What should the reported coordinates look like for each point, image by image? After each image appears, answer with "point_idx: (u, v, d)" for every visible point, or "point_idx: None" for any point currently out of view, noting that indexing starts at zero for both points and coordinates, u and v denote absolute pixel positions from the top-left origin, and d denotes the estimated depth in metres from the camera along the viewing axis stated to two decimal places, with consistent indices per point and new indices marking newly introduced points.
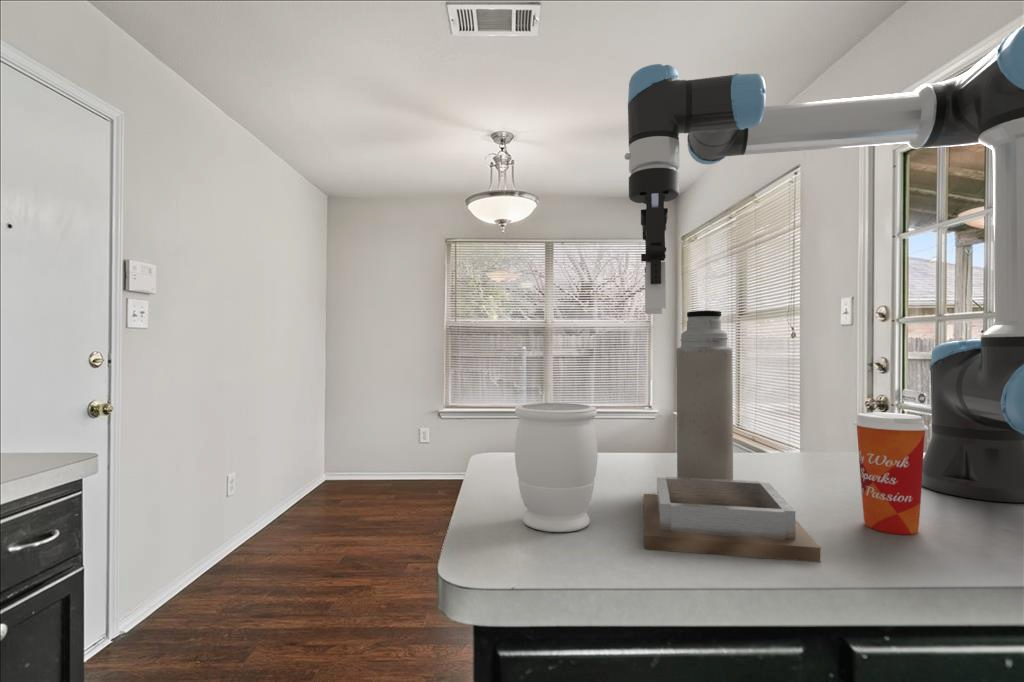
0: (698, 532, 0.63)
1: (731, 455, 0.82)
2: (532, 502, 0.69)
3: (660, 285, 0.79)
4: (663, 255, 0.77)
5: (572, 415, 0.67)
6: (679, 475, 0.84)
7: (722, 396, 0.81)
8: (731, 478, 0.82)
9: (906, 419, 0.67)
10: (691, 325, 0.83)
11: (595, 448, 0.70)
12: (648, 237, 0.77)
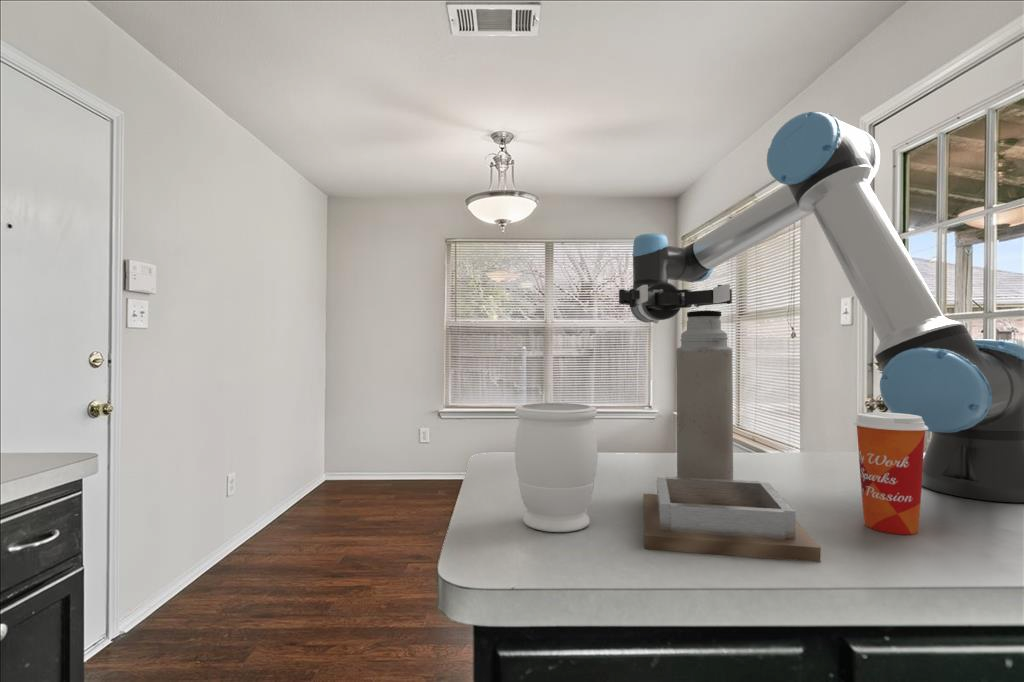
0: (698, 532, 0.63)
1: (731, 455, 0.82)
2: (532, 502, 0.69)
3: (639, 290, 0.98)
4: None
5: (572, 415, 0.67)
6: (679, 475, 0.84)
7: (723, 396, 0.81)
8: (731, 478, 0.82)
9: (906, 419, 0.67)
10: (691, 325, 0.83)
11: (595, 448, 0.70)
12: None
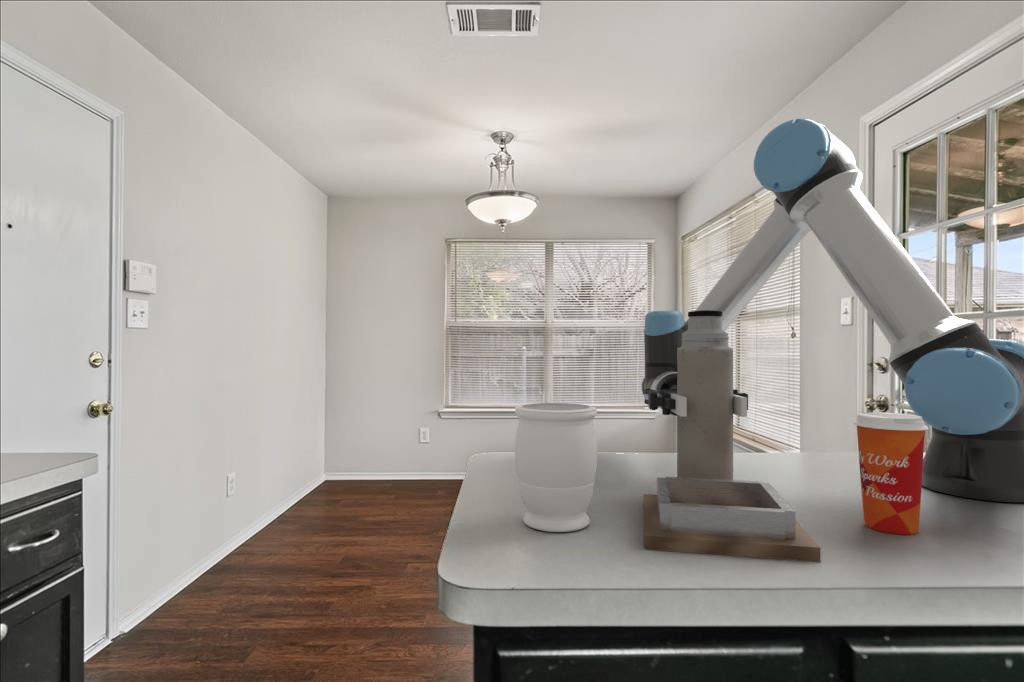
0: (698, 532, 0.63)
1: (731, 455, 0.82)
2: (532, 502, 0.69)
3: (676, 400, 0.83)
4: (662, 395, 0.87)
5: (572, 415, 0.67)
6: (679, 475, 0.84)
7: (723, 396, 0.81)
8: (731, 478, 0.82)
9: (906, 419, 0.67)
10: (692, 325, 0.83)
11: (595, 448, 0.70)
12: (649, 406, 0.89)
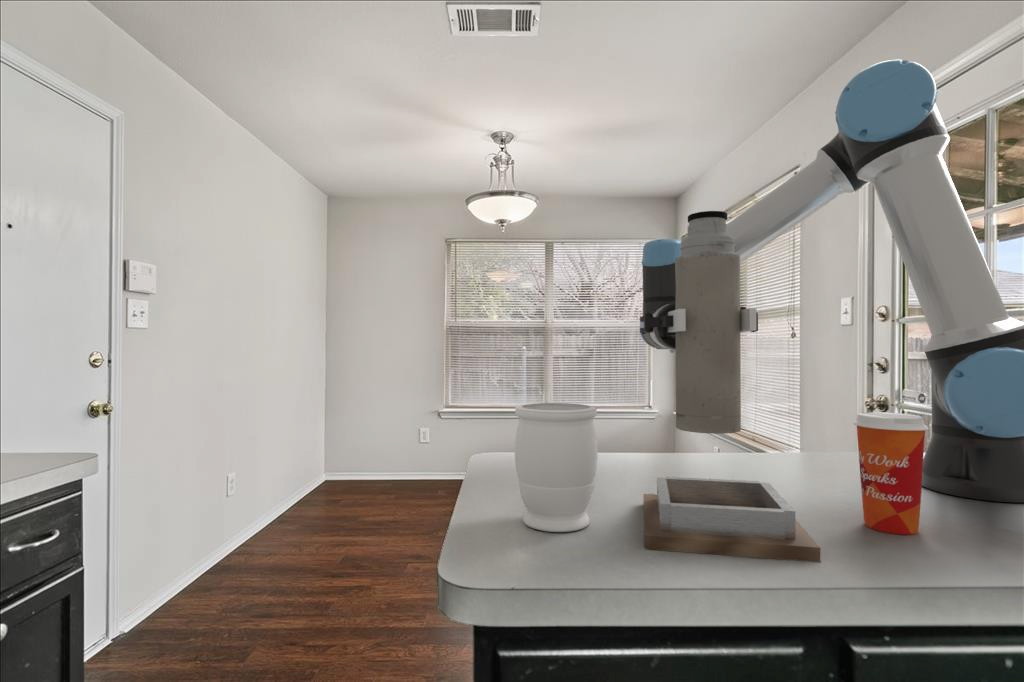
0: (698, 532, 0.63)
1: (738, 378, 0.70)
2: (532, 502, 0.69)
3: (673, 315, 0.71)
4: (659, 314, 0.75)
5: (572, 415, 0.67)
6: (678, 403, 0.72)
7: (728, 308, 0.69)
8: (738, 405, 0.70)
9: (906, 419, 0.67)
10: (692, 229, 0.72)
11: (595, 448, 0.70)
12: None
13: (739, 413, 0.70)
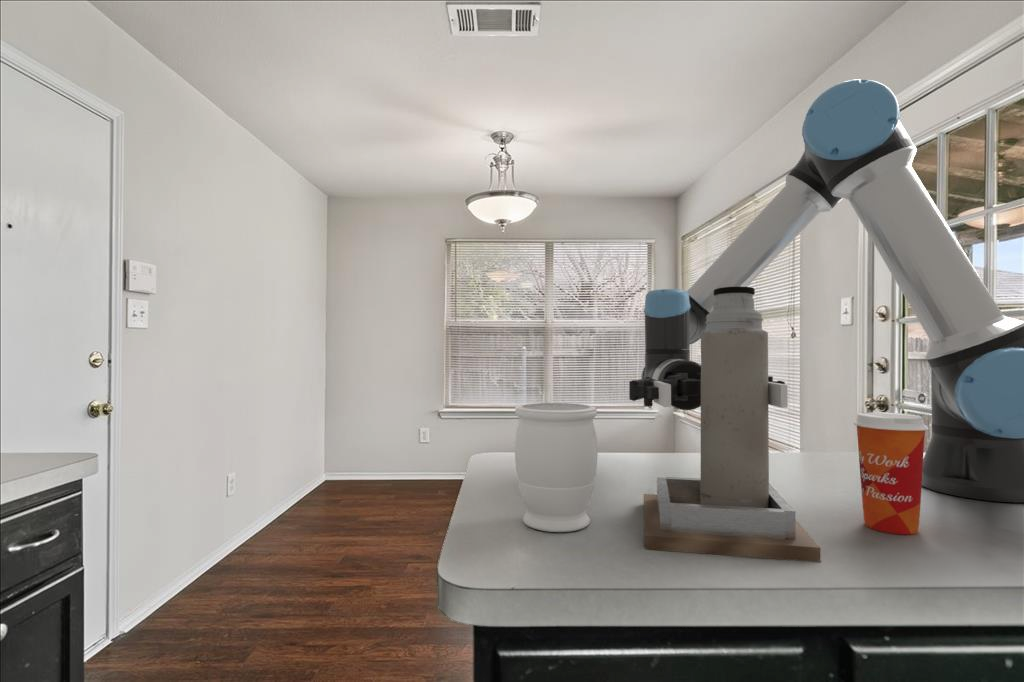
0: (698, 532, 0.63)
1: (767, 459, 0.68)
2: (532, 502, 0.69)
3: (659, 388, 0.70)
4: (643, 382, 0.74)
5: (572, 415, 0.67)
6: (703, 482, 0.70)
7: (757, 387, 0.67)
8: (767, 487, 0.68)
9: (906, 419, 0.67)
10: (719, 304, 0.71)
11: (595, 448, 0.70)
12: None
13: (768, 495, 0.68)
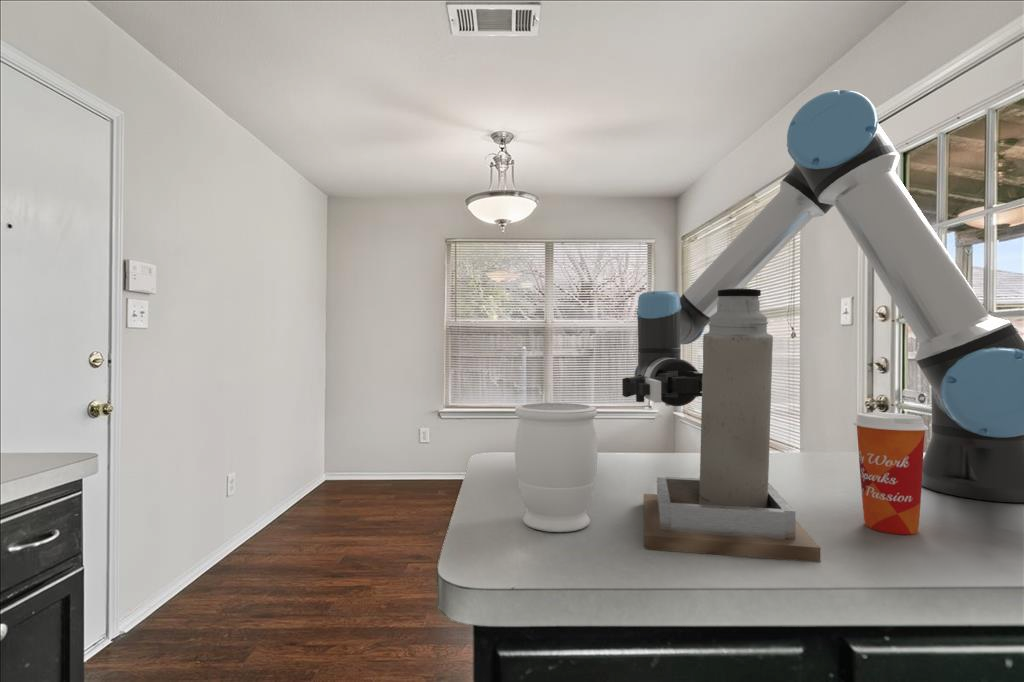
0: (698, 532, 0.63)
1: (767, 465, 0.68)
2: (532, 502, 0.69)
3: (650, 384, 0.74)
4: (636, 380, 0.78)
5: (572, 415, 0.67)
6: (702, 486, 0.70)
7: (759, 395, 0.66)
8: (766, 492, 0.68)
9: (906, 419, 0.67)
10: (723, 307, 0.68)
11: (595, 448, 0.70)
12: None
13: (766, 500, 0.68)
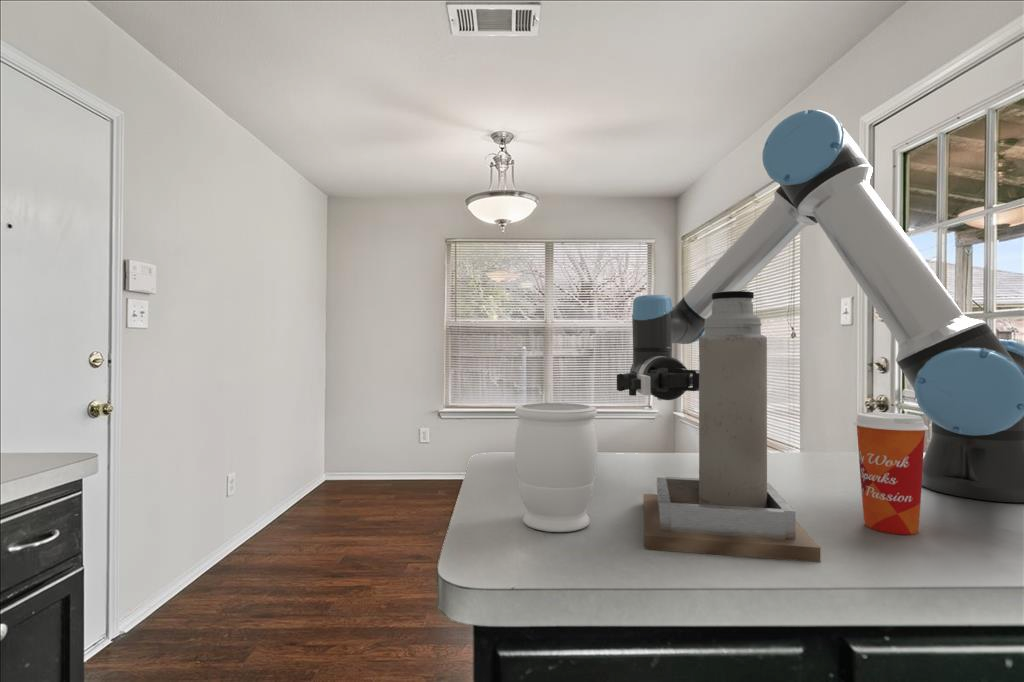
0: (698, 532, 0.63)
1: (765, 465, 0.68)
2: (532, 502, 0.69)
3: (641, 380, 0.83)
4: (629, 375, 0.87)
5: (572, 415, 0.67)
6: (702, 488, 0.70)
7: (755, 394, 0.67)
8: (765, 492, 0.68)
9: (906, 419, 0.67)
10: (717, 309, 0.70)
11: (595, 448, 0.70)
12: None
13: (766, 501, 0.68)
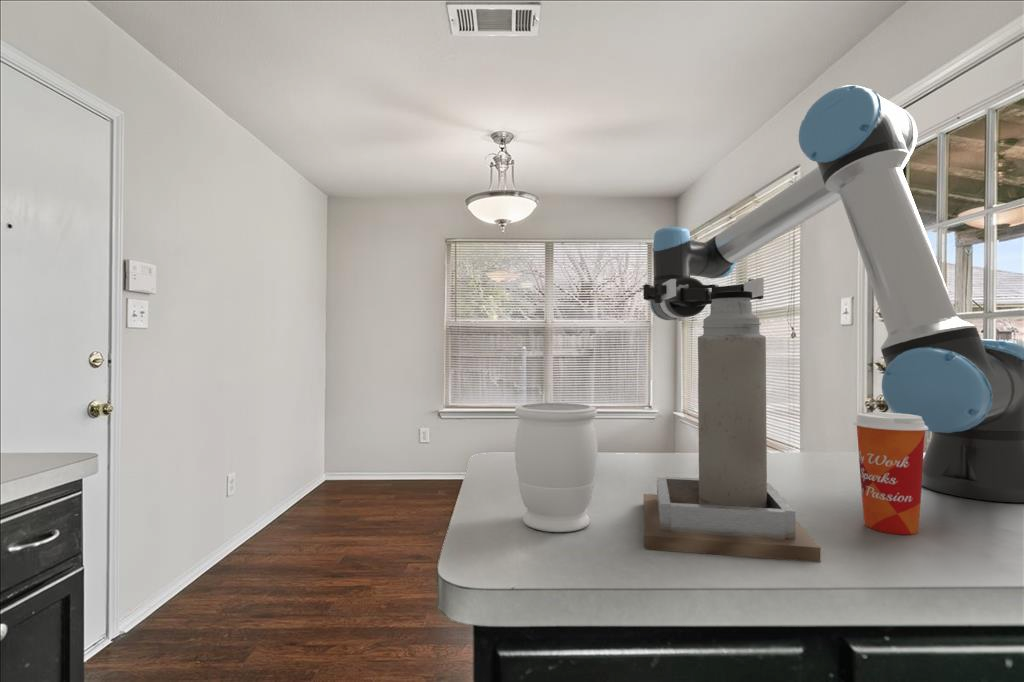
0: (698, 532, 0.63)
1: (765, 464, 0.68)
2: (532, 502, 0.69)
3: (666, 285, 0.92)
4: (654, 285, 0.96)
5: (572, 415, 0.67)
6: (701, 488, 0.70)
7: (755, 394, 0.67)
8: (765, 492, 0.68)
9: (906, 419, 0.67)
10: (716, 309, 0.69)
11: (595, 448, 0.70)
12: None
13: (766, 500, 0.68)
